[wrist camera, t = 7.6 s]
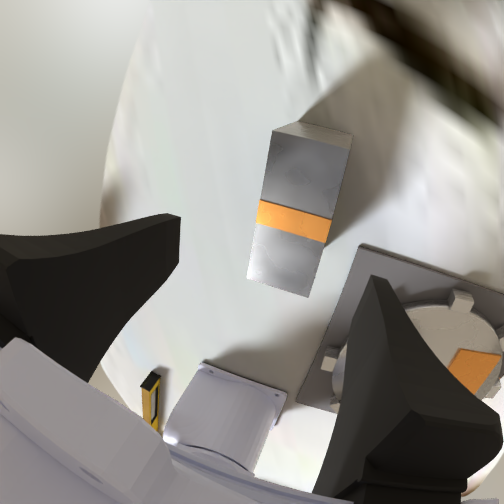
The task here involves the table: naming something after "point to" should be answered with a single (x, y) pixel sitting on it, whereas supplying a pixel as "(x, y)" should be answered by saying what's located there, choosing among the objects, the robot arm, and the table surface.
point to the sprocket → (445, 344)
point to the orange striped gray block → (297, 204)
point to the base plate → (407, 290)
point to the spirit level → (151, 399)
